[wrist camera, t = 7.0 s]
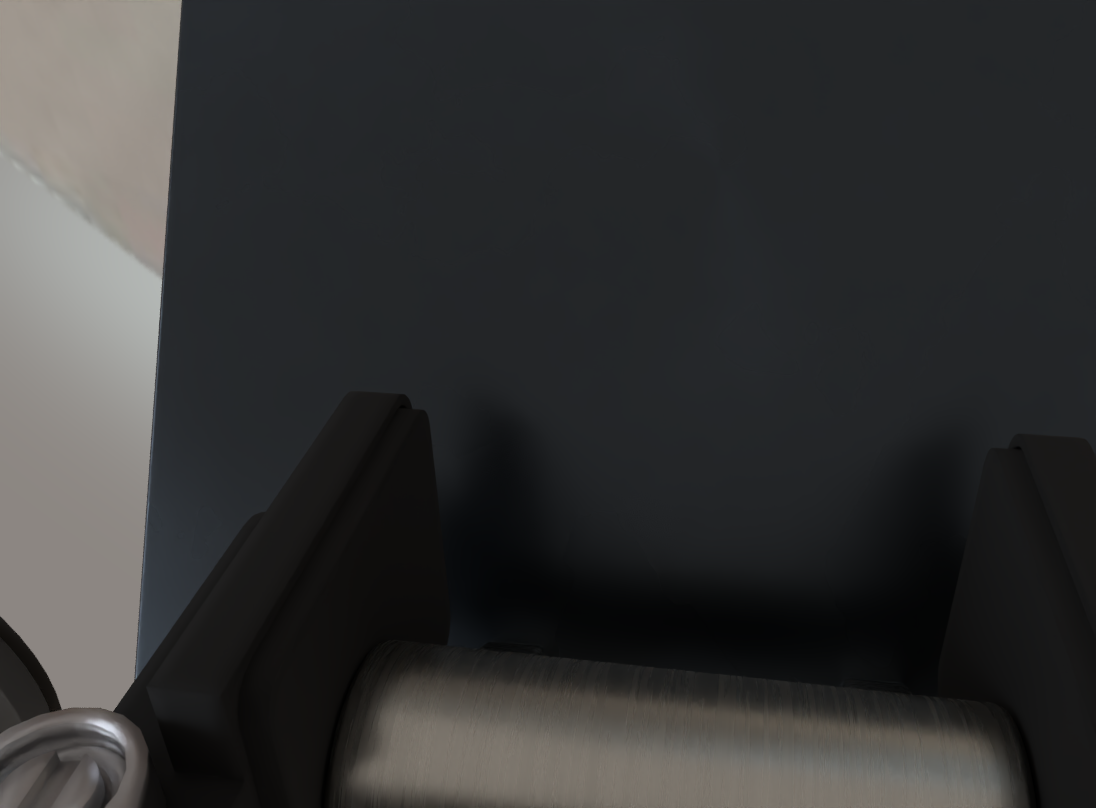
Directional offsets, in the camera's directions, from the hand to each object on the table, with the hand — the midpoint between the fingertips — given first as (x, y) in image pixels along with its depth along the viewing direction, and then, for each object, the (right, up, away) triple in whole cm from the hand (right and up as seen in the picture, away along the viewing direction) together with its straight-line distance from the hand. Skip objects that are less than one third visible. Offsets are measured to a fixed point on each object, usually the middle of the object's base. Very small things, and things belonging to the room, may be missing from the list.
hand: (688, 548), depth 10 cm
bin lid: (+1, +4, +2) cm, 5 cm away
